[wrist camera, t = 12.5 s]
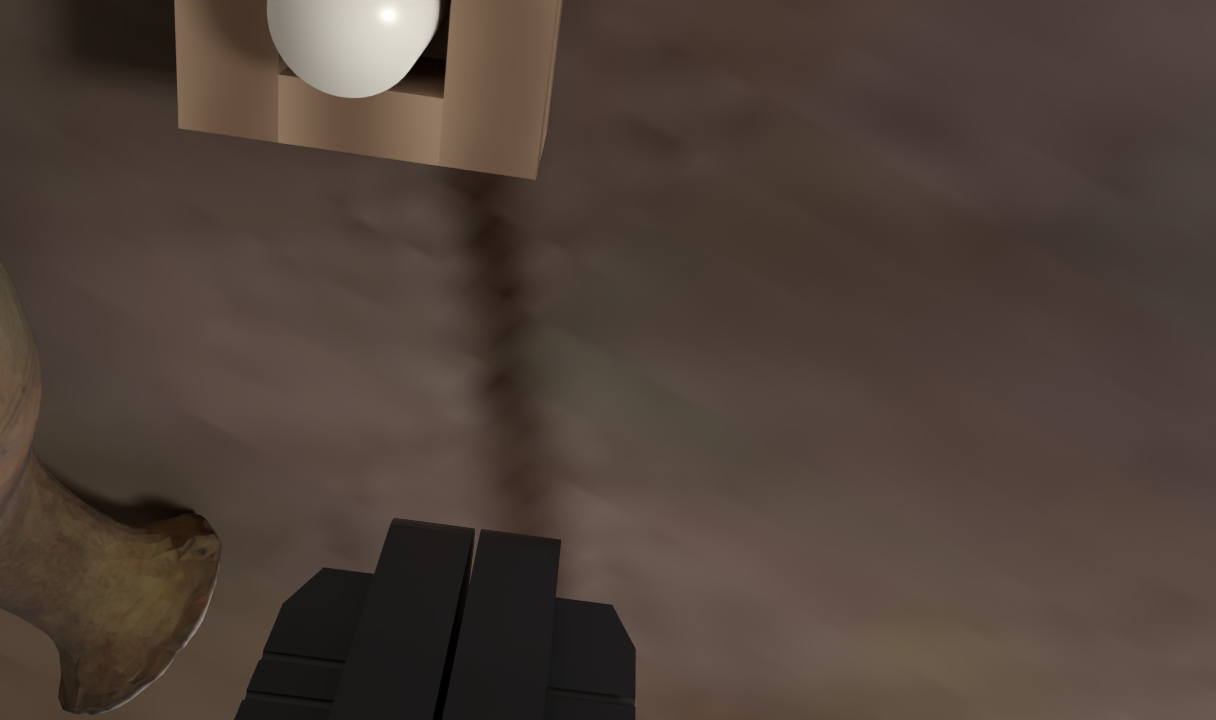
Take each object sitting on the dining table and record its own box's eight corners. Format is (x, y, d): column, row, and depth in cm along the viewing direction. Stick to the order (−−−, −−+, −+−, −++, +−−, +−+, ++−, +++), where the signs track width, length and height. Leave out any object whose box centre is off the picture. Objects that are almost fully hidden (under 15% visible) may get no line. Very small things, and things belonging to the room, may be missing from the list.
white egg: (457, -76, 38) (428, -49, 33) (446, 61, 40) (418, 108, 35) (318, -98, 38) (266, -74, 32) (315, 41, 40) (266, 85, 35)
